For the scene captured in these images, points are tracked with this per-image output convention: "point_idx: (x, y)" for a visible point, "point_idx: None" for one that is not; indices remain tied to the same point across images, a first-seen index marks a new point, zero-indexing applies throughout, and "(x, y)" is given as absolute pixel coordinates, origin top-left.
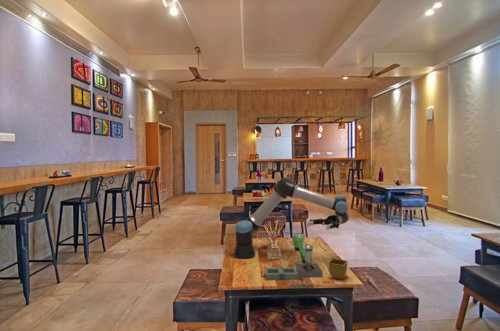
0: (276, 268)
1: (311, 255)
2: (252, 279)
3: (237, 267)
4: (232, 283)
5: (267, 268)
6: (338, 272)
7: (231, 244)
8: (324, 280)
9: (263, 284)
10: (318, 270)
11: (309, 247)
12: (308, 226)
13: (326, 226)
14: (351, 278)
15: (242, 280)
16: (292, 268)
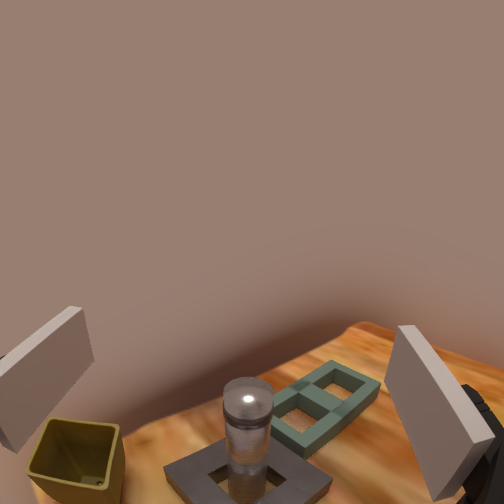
0: (351, 401)
1: (225, 433)
2: (357, 359)
3: (460, 372)
4: (366, 331)
5: (372, 385)
6: (82, 447)
7: None
8: (148, 453)
9: (309, 357)
10: (185, 470)
11: (231, 384)
12: (388, 386)
13: (83, 320)
14: (44, 498)
15: (367, 346)
16: (304, 434)
